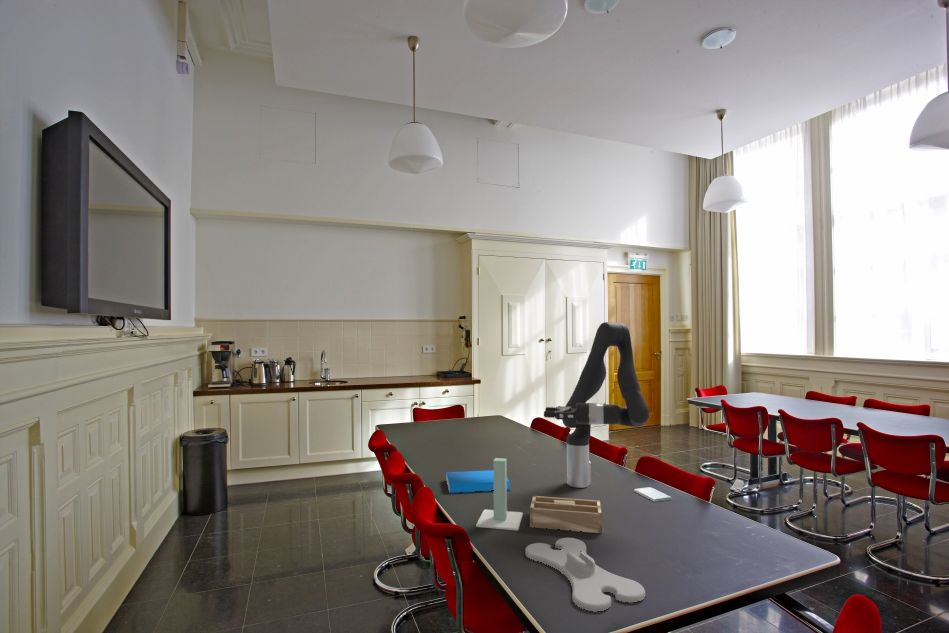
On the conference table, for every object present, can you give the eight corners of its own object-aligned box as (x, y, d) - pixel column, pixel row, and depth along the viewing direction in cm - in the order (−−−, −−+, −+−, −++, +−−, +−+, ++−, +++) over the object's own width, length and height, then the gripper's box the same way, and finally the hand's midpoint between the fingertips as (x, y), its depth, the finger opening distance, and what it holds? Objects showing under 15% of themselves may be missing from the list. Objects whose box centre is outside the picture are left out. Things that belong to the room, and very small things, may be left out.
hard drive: (672, 496, 179) (651, 486, 191) (654, 499, 176) (633, 488, 188) (672, 501, 179) (651, 490, 191) (654, 503, 176) (633, 492, 188)
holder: (586, 617, 106) (585, 595, 106) (519, 551, 137) (519, 534, 138) (653, 600, 112) (653, 579, 112) (575, 541, 144) (575, 525, 144)
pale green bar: (495, 516, 162) (495, 457, 162) (506, 517, 161) (506, 458, 161) (493, 519, 158) (493, 460, 159) (505, 521, 157) (504, 461, 158)
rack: (533, 512, 166) (533, 495, 166) (599, 518, 161) (599, 500, 161) (529, 527, 154) (529, 508, 154) (601, 533, 149) (601, 514, 149)
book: (445, 472, 203) (501, 468, 207) (445, 482, 203) (501, 478, 206) (449, 484, 186) (510, 480, 190) (449, 495, 186) (510, 491, 190)
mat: (484, 511, 168) (484, 509, 168) (522, 514, 165) (522, 512, 165) (476, 526, 154) (476, 525, 154) (518, 530, 151) (518, 528, 151)
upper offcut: (554, 508, 163) (553, 500, 163) (574, 509, 162) (574, 500, 162) (554, 512, 159) (554, 503, 159) (575, 513, 158) (575, 504, 158)
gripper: (589, 400, 175) (545, 399, 179) (590, 406, 161) (543, 404, 165) (589, 420, 175) (546, 418, 178) (590, 428, 161) (543, 426, 164)
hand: (544, 412), depth 171 cm, fingers open, 8 cm apart
